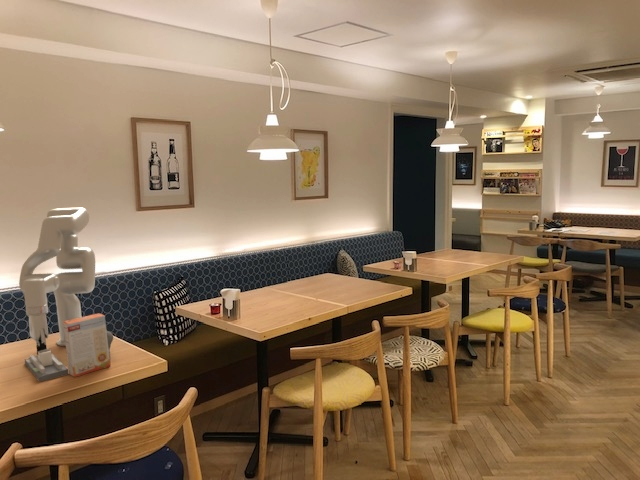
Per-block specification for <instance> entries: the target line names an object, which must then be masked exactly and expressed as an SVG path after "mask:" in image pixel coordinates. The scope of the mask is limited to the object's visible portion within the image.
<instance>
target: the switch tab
mask: <svg viewBox="0 0 640 480" xmlns="http://www.w3.org/2000/svg"><path fill="white" fill-rule="evenodd" d="M52 354H53V353H52V351H51V349H50V348H47V349H45V350H41V351H38V355H37V356H39V362H40V363H41V365H42V366H43V367H44V366H48V365H52V364H53V362H52Z"/></svg>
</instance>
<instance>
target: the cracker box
mask: <svg viewBox="0 0 640 480" xmlns="http://www.w3.org/2000/svg"><path fill="white" fill-rule="evenodd" d="M63 328H64V336H65V344H66V346H65V350H66V358H67V365H68V368H67V369H68V374H70V376H72V377H73V378H76V377H79V376H82V375H86V374H89V373H93V372H96V371H100V370H102V369H106V368H109V367H111V361H110V360H111V358H110V357H111V356H110V353H109V348H108V340H107V331H108V330H107V324H106V316H105V315H104V314H103V313H94V314H89V315H86V316H82V317H81V318H76V319H72V320H67V321H63Z"/></svg>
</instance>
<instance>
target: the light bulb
mask: <svg viewBox="0 0 640 480" xmlns="http://www.w3.org/2000/svg"><path fill="white" fill-rule="evenodd" d="M106 331H107V340H108V348H109V354H111V345H112V342H113V340H114V335H113V333H112V332H111V331H109V330H106Z"/></svg>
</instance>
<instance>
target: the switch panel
mask: <svg viewBox="0 0 640 480" xmlns="http://www.w3.org/2000/svg"><path fill="white" fill-rule="evenodd" d="M52 362H53V364H52V365H48V366H44V367H43V366H42V365H41V363H40V362H39V356H38V355H37V356H35V355H34V354H29V357H28V358H25V359H24V365H25V366H26V367H27V368H28V370H29V371H30V372H31V373H32V375H33V376H34V377H35V378H36V379H37V381H38V383H39V382H43V381H48V380H52V379H55V378H59V377H60V378H61V377H63V376H67V375H69V368H67V366H66V365H64V364H63V363H62V361H61V360H60V359H58V357H57V356H56V355H55V354H54V353H52Z"/></svg>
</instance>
